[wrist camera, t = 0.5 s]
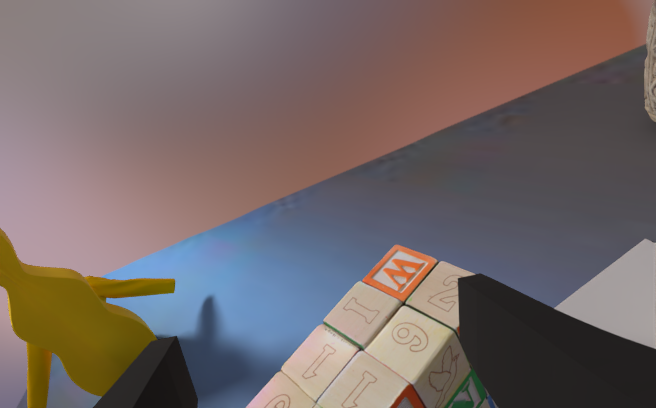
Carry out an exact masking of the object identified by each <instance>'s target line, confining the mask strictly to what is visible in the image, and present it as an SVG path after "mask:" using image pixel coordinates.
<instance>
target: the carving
mask: <svg viewBox="0 0 656 408" xmlns="http://www.w3.org/2000/svg"><path fill="white" fill-rule="evenodd" d="M650 13H651V14H650V17H649V24H648V31H647V50H648V56H647V58H646V60H645V73H644V89H645V94H644V96H645V99H646V100H645V110H646V111H647V112H648V114H649V116H650V118H651V119H652V120H653V121H654V122H656V0H654V2H653V5H652V8H651V12H650Z"/></svg>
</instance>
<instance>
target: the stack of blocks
mask: <svg viewBox="0 0 656 408" xmlns="http://www.w3.org/2000/svg"><path fill="white" fill-rule="evenodd" d="M471 275H475V274H474V273H471V272H469V271H466V270H464V269H461V268H458V267H456V266H454V265H451V264H449V263H447V262H444V261H441V262H440V263H439V262H438V260H436V259H434V258H432V257H430V256H427V255H425V254H422V253H419V252H417V251H414V250H411V249H408V248H406V247H403V246H400V245H394V246H393V248H392V249H391V250H390V251H389V252H388V253H387V254H386V255H385V256H384V257H383V258H382V260H381V261H380V262H379V263H378V264H377V265H376V266H375V267H374V268H373V269H372V270H371V271H370V272H369V274H368V275H367V276H366V277H365V278H364V279H363V281H362V282H360V281H359V282H357V283H356V284H355V285H354V286H353V288H352V289H351V290H350V291H349V292H348V293H347V294H346V295H345V296H344V297H343V298H342V299H341V301H340V302H339V303H338V304H337V305H336V306H335V307H334V308H333V309H332V311H331V312H330V313H329V314H328V315H327V316H326V317H325V319H324V321H323V322H324V323H323V324H322V325H319V326H317V327H316V329H315V330H314V331H313V332H312V333H311V334H310V335H309V336H308V338H307V339H306V340H305V341H304V342H303V343H302V344H301V345H300V346H299V348H298V349H297V350H296V351H295V352H294V353H293V354H292V356H291V357H290V358H289V359H288V360H287V361H286V362H285V363H284V365H283V366H282V369H281V371H279V372H277V373H276V374H275V375H274V376H273V378H272V379H271V380H270V381H269V382H268V383H267V384H266V385H265V387H264V388H263V389H262V390H261V391H260V392H259V393H258V394H257V395H256V397H255V398H254V399H253V400H252V401H251V402H250V403H249V404H248V406H247V407H246V408H498V407H497V405H496V404H495V402H494V401H493V399H492V398H491V396H490V395H489V393H488V392H487V390H486V389H485V387H484V386H483V384H482V383H481V381H480V380H479V378H478V377H477V375H476V373H475V371H474V369H473V367H472V365H471V364H470V362H469V360H468V358H467V356H466V354H465V352H464V350H463V348H462V346H461V344H460V338H459V303H458V278H461V277H466V276H471Z"/></svg>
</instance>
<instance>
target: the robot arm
mask: <svg viewBox="0 0 656 408" xmlns="http://www.w3.org/2000/svg"><path fill="white" fill-rule="evenodd" d="M458 303H459V338H460V344H461V346H462V348H463V350H464V352H465V354H466V356H467V358H468V360H469V362H470V364H471V365H472V367H473V369H474V371H475V373H476V375H477V377H478V378H479V380H480V381H481V383H482V384H483V386H484V387H485V389H486V390H487V392H488V393H489V395H490V396H491V398H492V399H493V401H494V402H495V404H496V405H497V407H498V408H656V349H655V348H652V347H649V346H646V345H643V344H640V343H637V342H635V341H632V340H629V339H626V338H623V337H621V336H618V335H615V334H613V333H610V332H607V331H605V330H602V329H600V328H598V327H595V326H593V325H590V324H588V323H586V322H583V321H581V320H578V319H576V318H574V317H572V316H569V315H567V314H565V313H563V312H560V311H558V310H556V309H554V308H552V307H550V306H548V305H545V304H543V303H541V302H539V301H537V300H535V299H533V298H531V297H529V296H527V295H525V294H523V293H521V292H519V291H517V290H514V289H512V288H510V287H508V286H506V285H504V284H502V283H500V282H498V281H496V280H494V279H492V278H490V277H487V276H485V275H483V274H475V275H471V276H466V277H461V278H458ZM197 404H198V398H197V395H196V392H195V389H194V386H193V383H192V380H191V377H190V374H189V371H188V368H187V365H186V362H185V359H184V356H183V353H182V350H181V347H180V344H179V341H178V338H177V336H174V337H169V338H164V339H159V340H154V341H151V342H150V343H149V344H148V345H147V346H146V347H145V349H144V350H143V351H142V352H141V353H140V354H139V355H138V356H137V358H136V359H135V360H134V361H133V362H132V363H131V365H130V366H129V367H128V368H127V369H126V370H125V372H124V373H123V374H122V375H121V376H120V377H119V379H118V380H117V381H116V382H115V383H114V384H113V385H112V387H111V388H110V389H109V390H108V391H107V392H106V393H105V395H104V396H103V397H102V398H101V399H100V400H99V401H98V403H97V404H96V405H95V406H94V407H93V408H197Z"/></svg>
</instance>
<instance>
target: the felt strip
mask: <svg viewBox="0 0 656 408" xmlns="http://www.w3.org/2000/svg"><path fill="white" fill-rule="evenodd" d="M554 309H556V310H558V311H560V312H563V313H565V314H567V315H569V316H572V317H574V318H576V319H578V320H581V321H583V322H586V323H588V324H590V325H593V326H595V327H598V328H600V329H602V330H605V331H607V332H610V333H613V334H615V335H618V336H621V337H623V338H626V339H629V340H632V341H635V342H637V343H640V344H643V345H646V346H649V347H652V348H655V243H654V242H651V241H649V240H647V239H644V240H643V241H642V242H640V243H639V244H638V245H636V246H635V247H634V248H632V249H631V250H630V251H629V252H627V253H626V254H625V255H623V256H622V257H621V258H619V259H618V260H617V261H615V262H614V263H613V264H611V265H610V266H609V267H608V268H606V269H605V270H604V271H602V272H601V273H600V274H598V275H597V276H596V277H594V278H593V279H592V280H590V281H589V282H588V283H587V284H585V285H584V286H583V287H581V288H580V289H579V290H577V291H576V292H575V293H573V294H572V295H571V296H569V297H568V298H567V299H566V300H564V301H563V302H562V303H560V304H559V305H558V306H556V307H555V308H554ZM655 349H656V348H655Z"/></svg>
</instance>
